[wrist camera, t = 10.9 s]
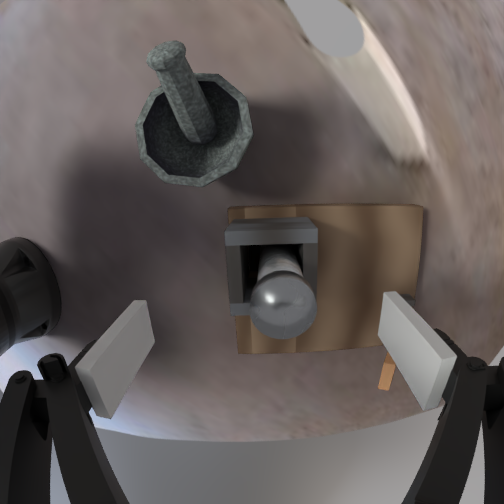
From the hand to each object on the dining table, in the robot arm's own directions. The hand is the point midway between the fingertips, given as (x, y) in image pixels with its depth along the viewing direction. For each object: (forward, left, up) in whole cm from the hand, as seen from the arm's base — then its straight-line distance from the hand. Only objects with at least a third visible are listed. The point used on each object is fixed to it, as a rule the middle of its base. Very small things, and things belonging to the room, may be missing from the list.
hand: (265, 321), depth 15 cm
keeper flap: (+12, -8, -9) cm, 17 cm away
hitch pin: (+1, 0, -16) cm, 16 cm away
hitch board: (+6, -4, -16) cm, 17 cm away
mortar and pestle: (-6, +12, -16) cm, 21 cm away
